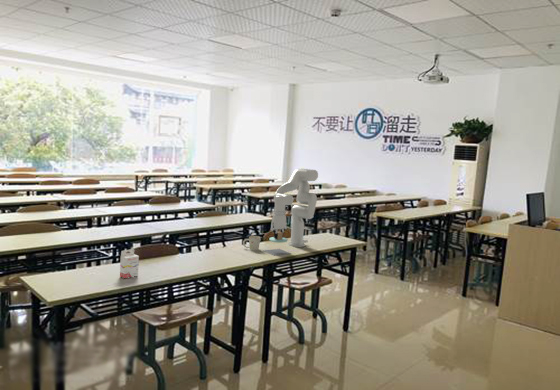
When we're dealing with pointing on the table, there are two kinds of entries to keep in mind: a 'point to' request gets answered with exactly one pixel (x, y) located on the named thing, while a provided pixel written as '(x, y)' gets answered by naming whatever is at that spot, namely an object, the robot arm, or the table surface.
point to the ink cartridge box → (129, 264)
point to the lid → (278, 238)
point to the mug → (253, 242)
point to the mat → (276, 252)
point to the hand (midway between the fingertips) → (278, 237)
